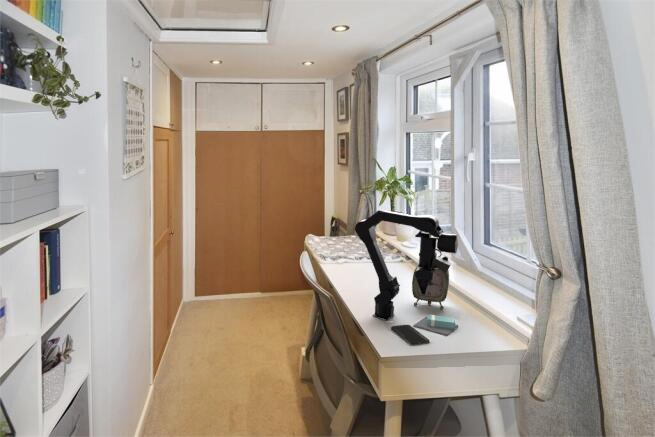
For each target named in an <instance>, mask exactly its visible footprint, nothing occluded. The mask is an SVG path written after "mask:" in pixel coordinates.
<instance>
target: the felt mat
mask: <svg viewBox="0 0 655 437" xmlns="http://www.w3.org/2000/svg"><path fill="white" fill-rule="evenodd" d="M427 320H428V316H424V317H423V318H422V319H421V320H419V321H417V322H416V323H414V324H413V328H414V327H415V328H419V329H422V330H425V331H429V332H432V333H436V334H439V335H443V336H446V337H447V336H449V335H450V334H451V333H452V332H454V330H456V329H457V328H458V327H459V324H456V323H455V329H451V328H443V327H436V326H428V325H427Z"/></svg>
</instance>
